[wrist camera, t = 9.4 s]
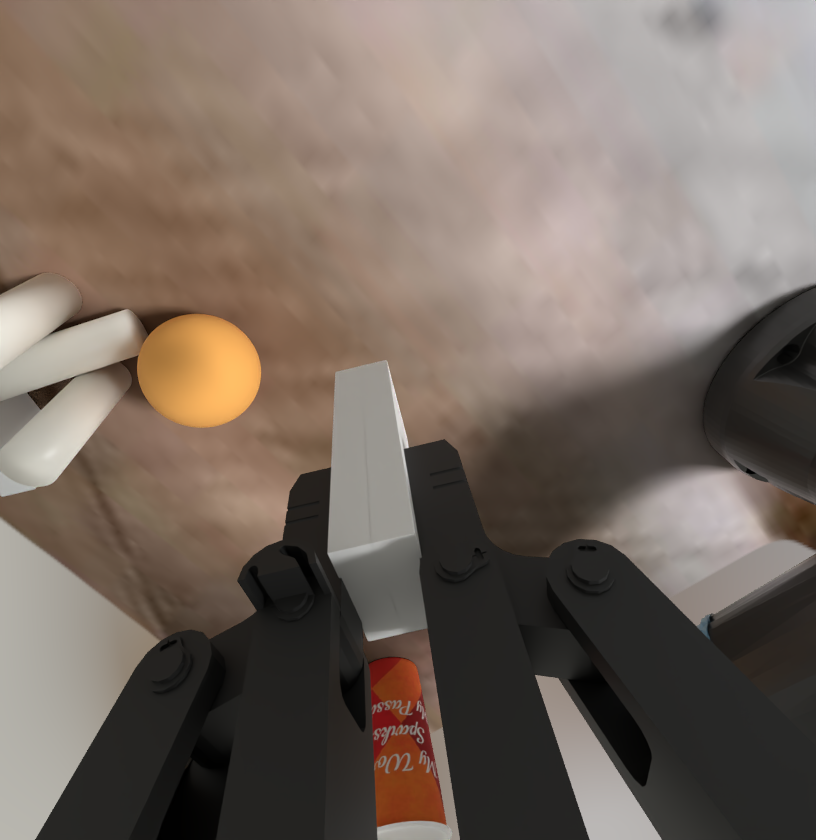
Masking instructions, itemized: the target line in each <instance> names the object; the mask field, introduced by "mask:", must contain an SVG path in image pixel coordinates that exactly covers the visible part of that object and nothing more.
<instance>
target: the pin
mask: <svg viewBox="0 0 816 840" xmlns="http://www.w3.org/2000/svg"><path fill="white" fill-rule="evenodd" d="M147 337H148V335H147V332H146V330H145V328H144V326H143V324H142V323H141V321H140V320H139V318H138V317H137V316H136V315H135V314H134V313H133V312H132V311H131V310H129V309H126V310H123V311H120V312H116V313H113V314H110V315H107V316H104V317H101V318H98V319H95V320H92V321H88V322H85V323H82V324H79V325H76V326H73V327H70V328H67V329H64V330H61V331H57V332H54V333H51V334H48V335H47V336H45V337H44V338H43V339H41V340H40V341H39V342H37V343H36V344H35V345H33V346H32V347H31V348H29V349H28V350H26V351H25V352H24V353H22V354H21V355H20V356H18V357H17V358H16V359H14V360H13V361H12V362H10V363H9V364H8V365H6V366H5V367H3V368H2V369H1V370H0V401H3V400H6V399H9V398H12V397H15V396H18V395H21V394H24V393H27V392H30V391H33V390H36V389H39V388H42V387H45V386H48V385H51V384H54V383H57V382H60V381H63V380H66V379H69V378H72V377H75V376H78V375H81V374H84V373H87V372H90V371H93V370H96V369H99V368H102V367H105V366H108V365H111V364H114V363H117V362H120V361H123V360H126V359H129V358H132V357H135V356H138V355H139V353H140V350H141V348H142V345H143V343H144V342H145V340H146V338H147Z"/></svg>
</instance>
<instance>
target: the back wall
mask: <svg viewBox="0 0 816 840" xmlns="http://www.w3.org/2000/svg"><path fill="white" fill-rule="evenodd" d="M40 411H41V410H40V409H39V407H38V406H37V405H36V404H35V402H34V401H33V400H32V398H31V397H30V396H29V395H28V393H24V394H21V395H18V396H15V397H12V398H9V399H6V400H3V401H0V449H1V448H2V447H3V446H4V445H5V444H6V443H7V442H9V441H10V440H11V439H12V438H13V437H14V436H15V435H16V434H17V433H18V432H19V431H20V430H21V429H22V428H23V427H24V426H25V425H26V424H27V423H28V422H29V421H30V420H31V419H32V418H33V417H34V416H35V415H36V414H37V413H39V412H40ZM36 488H37V487H31V486H26V485H22V484H19V483H17V482H15V481H13V480H11V479H9V478H8V477H7V476H5V475H4V474H3V473H2V472H1V471H0V495H1V496H2V497H4V496H8V495H12V494H17V493H21V492H25V491H29V490H34V489H36Z"/></svg>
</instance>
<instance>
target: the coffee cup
mask: <svg viewBox="0 0 816 840" xmlns="http://www.w3.org/2000/svg"><path fill="white" fill-rule="evenodd" d="M368 665H369V669H370V680H371V703H372V726H373V748H374V771H375V794H376V816H377V839H378V840H451V836H452V830H451V829H450V828H449V827H448V826H447V825H446V819H445V813H444V807H443V801H442V795H441V789H440V784H439V778H438V774H437V768H436V763H435V758H434V753H433V748H432V743H431V738H430V732H429V727H428V722H427V716H426V711H425V706H424V700H423V695H422V690H421V685H420V680H419V675H418V671H417V668H416V665H415V664H414V663H413V662H412V661H410V660H408V659H405V658H400V657H388V658H382V659H378V660H376V661H373V662H371V663H370V664H368Z"/></svg>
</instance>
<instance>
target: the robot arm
mask: <svg viewBox="0 0 816 840" xmlns="http://www.w3.org/2000/svg"><path fill="white" fill-rule="evenodd" d="M703 423H704V430H705V433H706V436H707V439H708V441H709V442H710V444H711V445H712V447H713V448H714V449H715V450H716V451H717V452H718V453H719V454H720V455H721V456H723V457H724V458H725V459H726V460H727V461H728V462H729V463H730V464H731V465H733V466H734V467H735V468H736V469H738V470H739V471H741V472H742V473H744V474H746V475H748V476H750V477H752V478H755V479H757V480H760V481H764V482H769V483H770V484H772V485H774V486H775V487H777V488H779V489H781V490H783V491H785V492H787V493H789V494H792V495H794V496H796V497H798V498H800V499H803V500H805V501H807V502H810V503H812V504H814V505H816V288H813V289H811V290H809V291H807V292H805V293H803V294H801V295H799V296H797V297H795V298H794V299H792V300H790V301H788V302H787V303H785V304H784V305H782V306H781V307H779V308H778V309H776V310H775V311H774V312H772V313H771V314H769V315H768V316H767V317H766V318H764V319H763V320H762V321H761V322H760V323H758V324H757V325H756V326H755V327H754V328H753V329H752V330H751V331H750V332H749V333H748V334H747V335H746V336H745V337H744V338H743V339H742V340H741V341H740V342H739V343H738V344H737V345H736V347H735V348H734V349H733V350H732V351H731V353H730V354H729V355H728V357H727V358H726V359H725V361H724V362H723V364H722V365H721V367H720V369H719V370H718V372H717V374H716V376H715V377H714V380H713V382H712V384H711V386H710V389H709V391H708V394H707V397H706V401H705V406H704V413H703ZM287 509H288V511H287V514H286V520H285V523H286V526H285V527H284V534H283V540H281V541H279V542H276V543H274V544H271V545H268V546H266V547H265V548H263V549H262V550H261V551H259V552H258V553H256V554H255V555H253V557H252V558H251V559H250V560H249V561H248V562H247V564H246V565H245V566H244V567H243V569H242V571H241V573H240V576H239V578H238V580H237V581H238V583H239V584H240V586H241V587H242V589H243V590H244V592H245V593H246V595H247V596H248V598H249V599H250V601H251V602H252V604H253V605H254V607H255V608H256V610H257V611H256V612H255V613H254V614H253V615H252V616H250V617H249V618H247V619H246V620H244V621H243V622H241V623H239V624H238V625H236V626H234V627H232V628H230V629H228V630H226V631H224V632H223V633H221V634H219V635H217V636H215V637H213V638H211V639H208V638H207V637H206V636H205V634H204V633H203V632H199V631H195V630H187V631H181V632H177V633H175V634H173V635H171V636H169V637H167V638H165V639H163V640H161V641H160V642H159V643H158V644H157V645H156V646H155V647H153V648H152V649H151V650H150V651H149V652H147V654H146V655H145V656H144V658H143V659H142V660H141V662H140V663H139V664H138V666H137V667H136V668H135V670H134V672H133V673H132V675H131V677H130V679H129V681H128V682H127V684H126V686H125V687H124V689H123V691H122V692H121V694H120V696H119V697H118V699H117V701H116V703H115V705H114V706H113V708H112V709H111V711H110V713H109V715H108V716H107V718H106V720H105V722H104V723H103V725H102V726H101V728H100V730H99V732H98V733H97V735H96V737H95V739H94V740H93V742H92V744H91V746H90V747H89V749H88V750H87V752H86V754H85V756H84V757H83V759H82V761H81V762H80V764H79V766H78V768H77V769H76V771H75V773H74V774H73V776H72V778H71V780H70V781H69V783H68V785H67V786H66V788H65V790H64V791H63V793H62V795H61V797H60V799H59V800H58V802H57V803H56V805H55V807H54V809H53V810H52V812H51V814H50V815H49V817H48V819H47V821H46V822H45V824H44V826H43V828H42V829H41V831H40V833H39V834H38V836H37V838H36V839H35V840H378V839H377V816H376V794H375V771H374V748H373V726H372V703H371V680H370V669H369V665H368V661H367V658H366V656H365V654H364V652H363V631H364V633H365V635H366V637H367V640H368V642H369V641H373V640H377V639H382V638H386V637H391V636H395V635H400V634H404V633H409V632H413V631H417V630H422V629H426V628H428V634H429V640H430V647H431V653H432V660H433V666H434V673H435V679H436V686H437V692H438V699H439V705H440V712H441V718H442V725H443V731H444V738H445V744H446V751H447V757H448V764H449V770H450V777H451V783H452V790H453V796H454V803H455V809H456V816H457V823H458V829H459V835H460V840H589V837H588V834H587V831H586V828H585V825H584V822H583V819H582V816H581V813H580V810H579V807H578V804H577V801H576V798H575V795H574V792H573V789H572V786H571V783H570V780H569V777H568V774H567V770H566V768H565V765H564V761H563V758H562V755H561V752H560V749H559V747H558V743H557V740H556V737H555V734H554V732H553V728H552V726H551V722H550V719H549V716H548V713H547V710H546V707H545V704H544V701H543V698H542V695H541V692H540V689H539V686H538V683H537V680H536V677H535V675H541V676H548V677H555V678H559V680H560V681H561V683H562V685H563V686H564V688H565V689H566V691H567V692H568V694H569V695H570V697H571V699H572V700H573V702H574V703H575V705H576V706H577V708H578V709H579V711H580V713H581V714H582V716H583V717H584V719H585V720H586V722H587V723H588V725H589V727H590V728H591V730H592V731H593V733H594V734H595V736H596V737H597V739H598V740H599V742H600V744H601V745H602V747H603V748H604V750H605V751H606V753H607V754H608V756H609V758H610V759H611V761H612V762H613V764H614V765H615V767H616V769H617V770H618V772H619V773H620V775H621V776H622V778H623V779H624V781H625V783H626V784H627V786H628V787H629V789H630V790H631V792H632V793H633V795H634V796H635V798H636V800H637V801H638V802H639V804H640V806H641V807H642V809H643V810H644V812H645V814H646V815H647V817H648V818H649V820H650V821H651V823H652V825H653V826H654V828H655V829H656V831H657V832H658V834H659V835H660V837H661V839H662V840H816V554H814V555H813V556H811V557H809V558H808V559H806V560H805V561H803V562H801V563H799V564H798V565H796V566H794V567H793V568H791V569H789V570H788V571H786V572H784V573H783V574H781V575H779V576H778V577H776V578H774V579H773V580H771V581H769V582H768V583H766V584H764V585H763V586H761V587H760V588H758V589H756V590H754V591H753V592H751V593H749V594H748V595H746V596H745V597H743V598H741V599H739V600H738V601H736V602H734V603H733V604H731V605H729V606H728V607H726V608H724V609H723V610H721V611H719V612H718V613H716V614H709V615H707V616H705V618H703V619H702V620H701V623H700V624H699V625H698V626H695V625H694V624H693V623H692V622H691V621H690V620H689V619H688V618H687V617H686V616H685V615H684V614H683V613H682V612H681V611H680V610H679V609H678V608H677V607H676V606H675V605H674V604H673V603H672V602H671V601H670V600H669V599H668V598H667V597H666V596H665V595H664V594H663V593H662V592H661V591H660V590H659V589H658V588H657V587H656V586H655V585H654V584H653V583H652V582H651V581H650V580H649V579H648V578H647V577H646V576H645V575H644V574H643V573H642V572H641V571H640V570H639V569H638V568H637V567H636V566H635V565H634V564H633V563H632V562H631V561H630V560H629V559H628V558H627V557H626V556H625V555H624V554H623V553H621V552H620V551H618V550H617V549H616V548H614V547H613V546H611V545H608V544H606V543H603V542H600V541H597V540H585V539H578V540H574V541H570V542H566V543H563V544H562V545H561V546H559V547H558V548H556V549H555V550H554V551H552V553H551V555H550V557H549V558H543V557H526V556H520V555H514V554H511V553H508V552H506V551H503V550H501V549H500V548H498V547H497V546H495V545H494V544H493V543H492V542H491V541H490V540H489V539H488V538H487V536H486V534H485V532H484V530H483V527H482V524H481V521H480V518H479V515H478V512H477V509H476V506H475V503H474V500H473V497H472V494H471V491H470V488H469V485H468V482H467V478H466V475H465V472H464V469H463V466H462V463H461V460H460V457H459V454H458V451H457V450H456V449H455V448H454V447H453V446H451V445H450V444H449V443H448V442H447V441H446V440H445V439H444V440H440V441H436V442H431V443H427V444H423V445H419V446H414V447H410V448H409V447H408V441H407V436H406V432H405V428H404V424H403V420H402V416H401V413H400V409H399V405H398V401H397V397H396V393H395V390H394V386H393V382H392V378H391V374H390V370H389V367H388V363H387V360H384V361H380V362H375V363H371V364H367V365H363V366H359V367H354V368H350V369H346V370H342V371H338V372H336V373H335V395H334V417H333V440H332V462H331V468H327V469H322V470H318V471H314V472H310V473H305V474H301V475H300V476H299V478H298V479H297V481H296V483H295V484H294V486H293V487H292V489H291V490H290V494H289V501H288V507H287ZM362 629H363V630H362Z"/></svg>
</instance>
